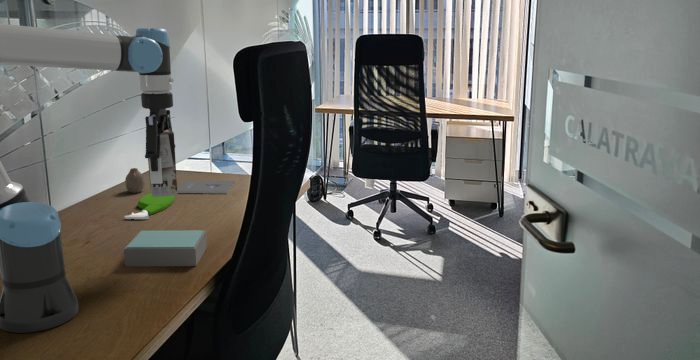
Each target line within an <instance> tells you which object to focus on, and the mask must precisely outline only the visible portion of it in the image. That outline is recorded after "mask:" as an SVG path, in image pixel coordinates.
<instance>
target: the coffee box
mask: <svg viewBox="0 0 700 360" xmlns="http://www.w3.org/2000/svg"><path fill="white" fill-rule="evenodd" d="M158 135H159V134H157V136H158ZM159 158H161V166H162V181H163V183H162V184H151V179H150V165H149V158H147V162H148V163H147V164H148V174H149V175H148V176H149V186H150V193H152V196H153V197H161V196H175V197H176V196H177V195H178V194H177V187H178V182H177V179H178V178H177V163H176V144H175V133H174V131H173V129H172V130H171V129H170V128H169V129H168V130H164V131H163V133H160V154H159Z"/></svg>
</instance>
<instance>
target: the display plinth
mask: <svg viewBox="0 0 700 360" xmlns="http://www.w3.org/2000/svg"><path fill="white" fill-rule="evenodd" d="M207 248H208V237H207V230H201V229H199V230H198V229H197V230H196V229H195V230H194V229H193V230H192V229H191V230H187V229H186V230H180V229H179V230H176V229H175V230H174V229H172V230H140V231H139V232H138V233H137V235H135V237H133V239H132V240H131V241H130V242H129V243H128V244H126V246H125V247H124V248H123V254H124V265H125V266H124V267H197V265H198V264H199V262H200V261H201V259H202V257H203V255H204V253H205V251H206V249H207Z"/></svg>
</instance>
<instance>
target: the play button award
mask: <svg viewBox="0 0 700 360" xmlns="http://www.w3.org/2000/svg"><path fill="white" fill-rule="evenodd" d="M235 182H236V180H207V179H206V180H201V179H200V180H198V179H197V180H193V179H192V180H191V179H190V180H189V179H188V180H187V179H185V180H184V181H182V182H181V183H180V184H179V185H177V193H203V194H202V195H209V194H210V195H228V194H229V193H230V191H231V190H232V189H233V188H234V186H235V185H236V183H235ZM234 184H235V185H234ZM233 185H234V186H233ZM231 188H232V189H231Z"/></svg>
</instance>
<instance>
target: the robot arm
mask: <svg viewBox="0 0 700 360" xmlns="http://www.w3.org/2000/svg"><path fill="white" fill-rule="evenodd" d="M170 49H171V46H170V38H169V33H168V31H167V29H165V28H162V27H161V28H156V27H155V28H148V27H146V28H145V27H140V28H139V27H138V28H136V31H135V35H132V36H131V35H130V36H129V35H115V34H108V33H99V32H98V33H97V32H87V31H79V30H69V29H67V30H66V29H56V28H47V27H46V28H45V27H37V26H27V25H17V24H7V23H0V65H2V66H20V67H21V66H22V67H38V68H39V67H40V68H41V67H42V68H57V69H58V68H60V69H64V68H65V69H74V70H75V69H76V70H78V69H79V70H95V71H96V70H98V71H99V70H100V71H112V72H113V71H114V72H115V71H117V72H128V73H129V72H131V73H138V74H139V90H140V91H141V92H142V93H141V94H140V99H141V107H142V108H143V109H148V110H149V115H148V116H145V118H144V119H145V154H144V157H145V159H148V158H149V165H150V177H149V180H150V179H151V184H162V183H163V181H162V166H161V158H159V154H160V133H163V131H164V130H168V129H169V128H170V129H171V130H172V131H173V126H172V121H171V110H170V109H171V108H173V106H174V97H173V93H172V87H173V85H172V83H174V79H173V78H172V70H171V67H172V66H171V52H170V51H171V50H170ZM157 134H159V135H158V136H157ZM149 165H148V166H149ZM62 238H63V237H62V223H61V220H60V217H59V213H58V211H57V209H56V208H55V207H54V206H51V205H50V204H46V203H45V202H44V203H43V202H41V203H40V202H36V201H31V200H30V198H29V196H28V194H27V193H26V190H25V188H24V187H23V185H22V184H21V183H19V182H15V181H12V180H11V179H10V177H9V175H8V172H7V171H6V169H5V167H4V164H2V161H1V160H0V276H1V277H0V278H1V281H2V282H1V284H2V289H1V294H0V329H1V330H2V331H5V332H9V333H16V334H18V333H19V334H25V333H26V334H27V333H35V332H41V331H46V330H49V329H53V328H56V327H59V326H60V325H63V324H65V323H67V322H68V321H70V320H72V319H73V318H75V317H76V316H77V314H78V312H79V309H80V308H79V300H78V298H77V295H76V293H75V291H74V289H73V287H72V285H71V283H70V281H69V280H68V277H67V275H66V266H65V256H64V249H63V241H62Z"/></svg>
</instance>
